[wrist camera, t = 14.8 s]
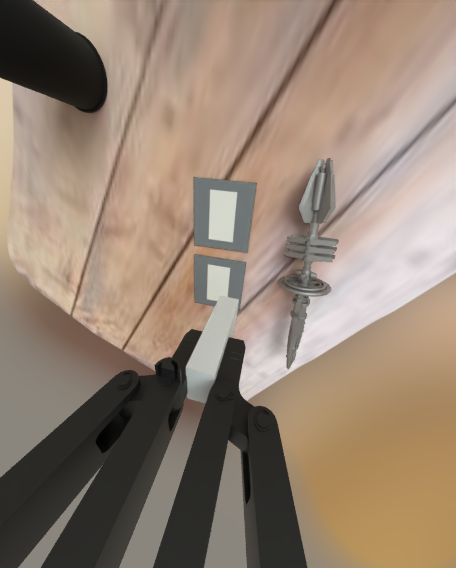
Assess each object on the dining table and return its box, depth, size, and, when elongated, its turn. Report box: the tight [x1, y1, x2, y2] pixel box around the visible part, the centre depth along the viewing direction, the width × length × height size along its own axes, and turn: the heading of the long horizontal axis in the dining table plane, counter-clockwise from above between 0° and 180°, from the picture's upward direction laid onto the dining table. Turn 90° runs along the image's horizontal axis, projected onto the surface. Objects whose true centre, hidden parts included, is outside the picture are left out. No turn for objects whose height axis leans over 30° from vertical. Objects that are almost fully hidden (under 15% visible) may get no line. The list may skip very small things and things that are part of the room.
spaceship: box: [279, 158, 339, 369], centre depth 31 cm, size 8×35×8 cm
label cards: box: [194, 177, 257, 311], centre depth 35 cm, size 24×10×1 cm, turn 175°
